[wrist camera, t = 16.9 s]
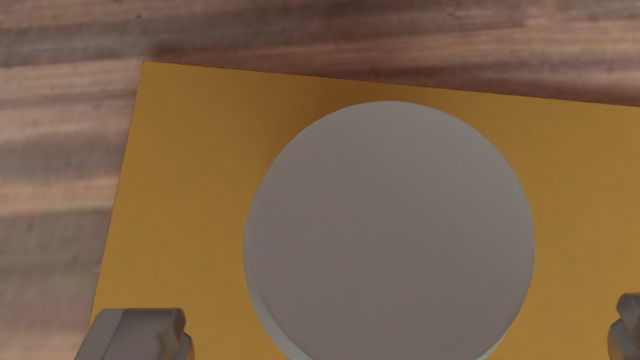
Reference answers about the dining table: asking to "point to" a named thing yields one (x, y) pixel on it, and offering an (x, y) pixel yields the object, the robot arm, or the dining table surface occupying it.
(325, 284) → the pill bottle
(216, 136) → the amber mat
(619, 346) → the robot arm
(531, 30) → the dining table surface
